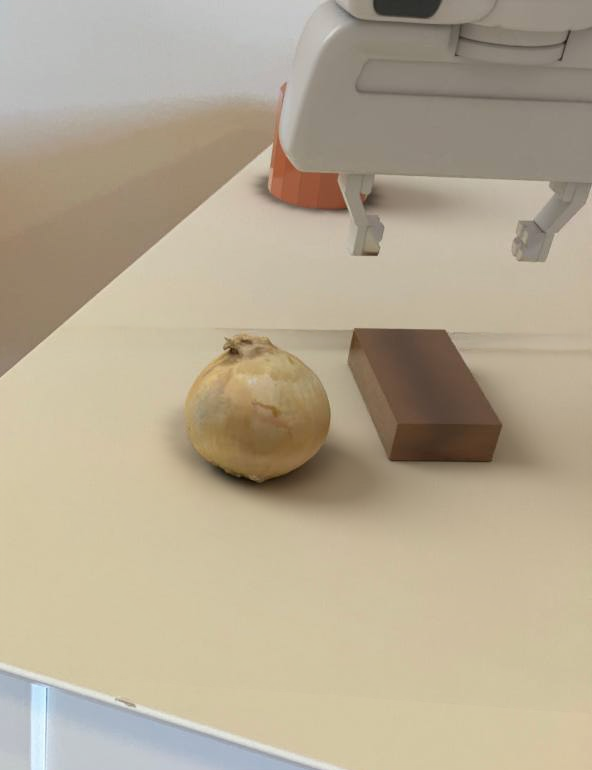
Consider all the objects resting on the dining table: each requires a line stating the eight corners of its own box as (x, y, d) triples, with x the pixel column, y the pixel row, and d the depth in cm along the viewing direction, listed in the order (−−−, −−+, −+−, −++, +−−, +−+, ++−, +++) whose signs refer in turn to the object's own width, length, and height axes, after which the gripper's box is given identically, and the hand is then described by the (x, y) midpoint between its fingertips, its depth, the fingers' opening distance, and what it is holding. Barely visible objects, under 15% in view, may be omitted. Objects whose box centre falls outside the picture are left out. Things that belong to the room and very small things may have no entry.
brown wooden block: (436, 363, 73) (445, 329, 71) (491, 461, 64) (503, 425, 62) (346, 361, 72) (353, 327, 71) (389, 460, 63) (398, 423, 62)
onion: (315, 428, 66) (336, 315, 61) (326, 503, 60) (350, 384, 55) (181, 419, 66) (191, 306, 61) (179, 493, 60) (190, 374, 55)
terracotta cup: (352, 190, 97) (372, 78, 91) (373, 225, 91) (396, 108, 85) (259, 188, 96) (273, 76, 90) (274, 223, 90) (290, 105, 84)
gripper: (698, -32, 56) (604, 240, 65) (297, -53, 54) (258, 227, 63) (758, -5, 51) (647, 285, 60) (320, -27, 50) (274, 272, 59)
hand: (444, 255), depth 62 cm, fingers open, 8 cm apart
